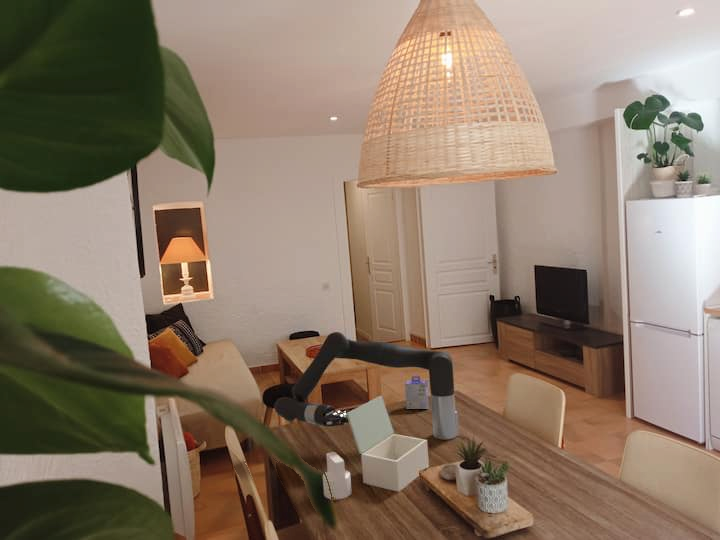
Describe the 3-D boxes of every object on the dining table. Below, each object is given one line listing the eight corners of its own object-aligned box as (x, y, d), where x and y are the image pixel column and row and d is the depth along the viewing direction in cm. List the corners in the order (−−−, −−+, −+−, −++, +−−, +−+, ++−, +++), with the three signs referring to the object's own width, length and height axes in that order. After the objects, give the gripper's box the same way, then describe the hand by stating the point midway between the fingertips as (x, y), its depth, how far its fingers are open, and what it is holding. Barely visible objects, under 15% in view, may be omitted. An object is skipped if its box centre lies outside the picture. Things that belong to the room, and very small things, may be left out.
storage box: (363, 483, 197) (361, 454, 196) (394, 460, 213) (393, 433, 212) (398, 491, 189) (396, 461, 188) (428, 467, 205) (427, 440, 204)
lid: (361, 453, 196) (359, 453, 196) (394, 432, 212) (392, 433, 213) (347, 413, 197) (345, 413, 197) (381, 395, 214) (379, 395, 214)
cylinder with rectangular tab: (320, 490, 194) (317, 455, 193) (345, 484, 197) (342, 449, 196) (329, 502, 185) (326, 465, 184) (355, 494, 189) (353, 458, 188)
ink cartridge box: (429, 406, 270) (427, 375, 269) (428, 410, 265) (426, 378, 264) (407, 406, 272) (405, 375, 271) (406, 410, 267) (404, 379, 266)
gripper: (307, 410, 213) (345, 416, 203) (329, 399, 223) (367, 405, 213) (309, 430, 213) (347, 437, 203) (331, 418, 224) (368, 425, 214)
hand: (357, 420), depth 208 cm, fingers closed
